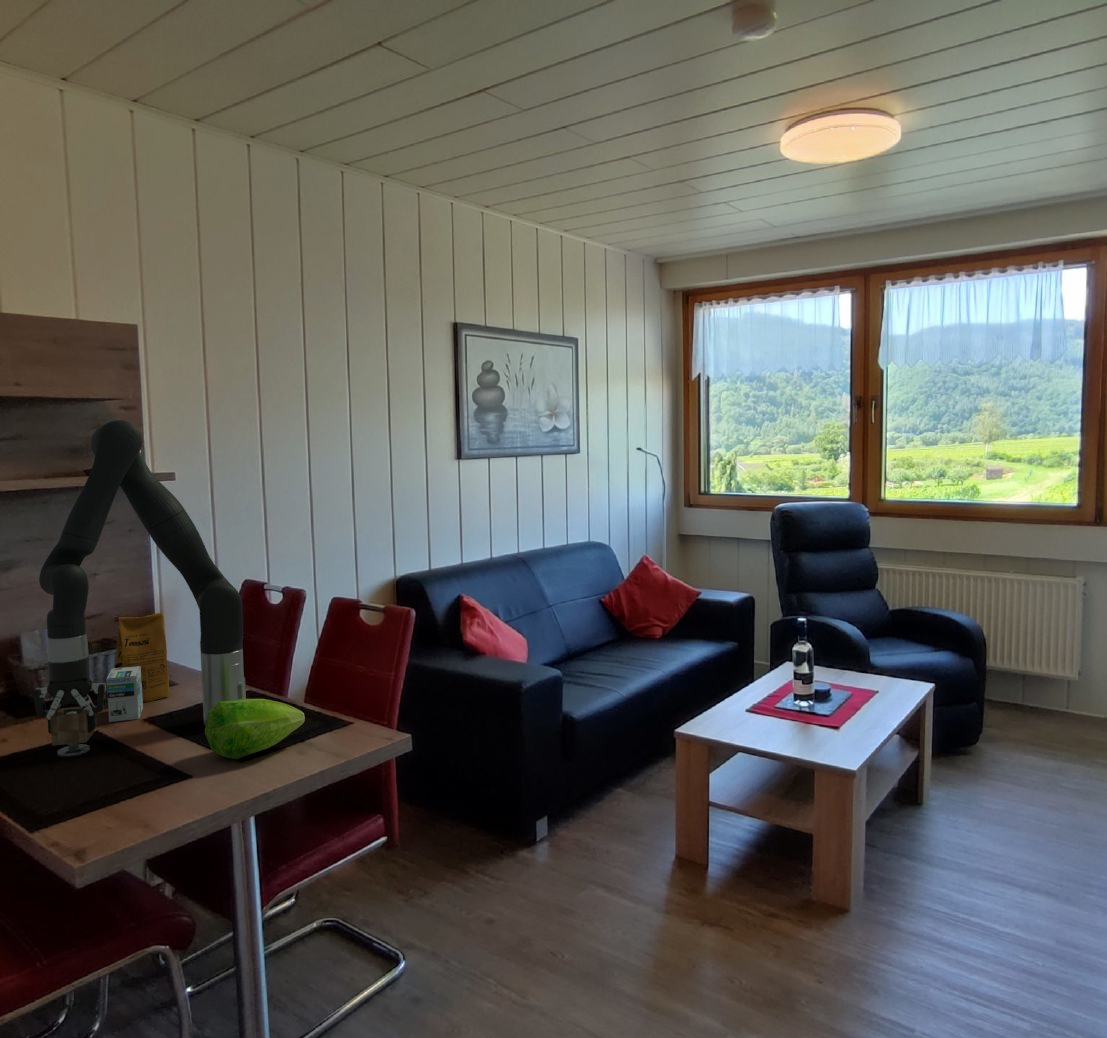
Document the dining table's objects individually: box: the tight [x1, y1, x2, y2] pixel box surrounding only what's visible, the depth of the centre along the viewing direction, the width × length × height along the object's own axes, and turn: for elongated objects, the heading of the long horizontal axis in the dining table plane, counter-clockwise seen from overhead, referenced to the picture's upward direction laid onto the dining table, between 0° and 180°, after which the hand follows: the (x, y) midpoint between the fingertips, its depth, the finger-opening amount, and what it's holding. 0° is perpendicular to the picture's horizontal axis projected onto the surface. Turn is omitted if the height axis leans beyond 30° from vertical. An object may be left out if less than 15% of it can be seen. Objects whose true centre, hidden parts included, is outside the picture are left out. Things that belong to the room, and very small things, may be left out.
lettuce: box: [204, 698, 306, 760], centre depth 176 cm, size 14×20×12 cm
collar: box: [50, 706, 95, 746], centre depth 178 cm, size 6×6×6 cm
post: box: [57, 711, 91, 758], centre depth 178 cm, size 6×6×9 cm
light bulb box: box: [105, 666, 144, 723], centre depth 203 cm, size 11×7×11 cm, turn 22°
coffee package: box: [114, 612, 170, 703], centre depth 216 cm, size 10×12×22 cm
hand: (72, 733), depth 178 cm, fingers closed on collar, 6 cm apart
